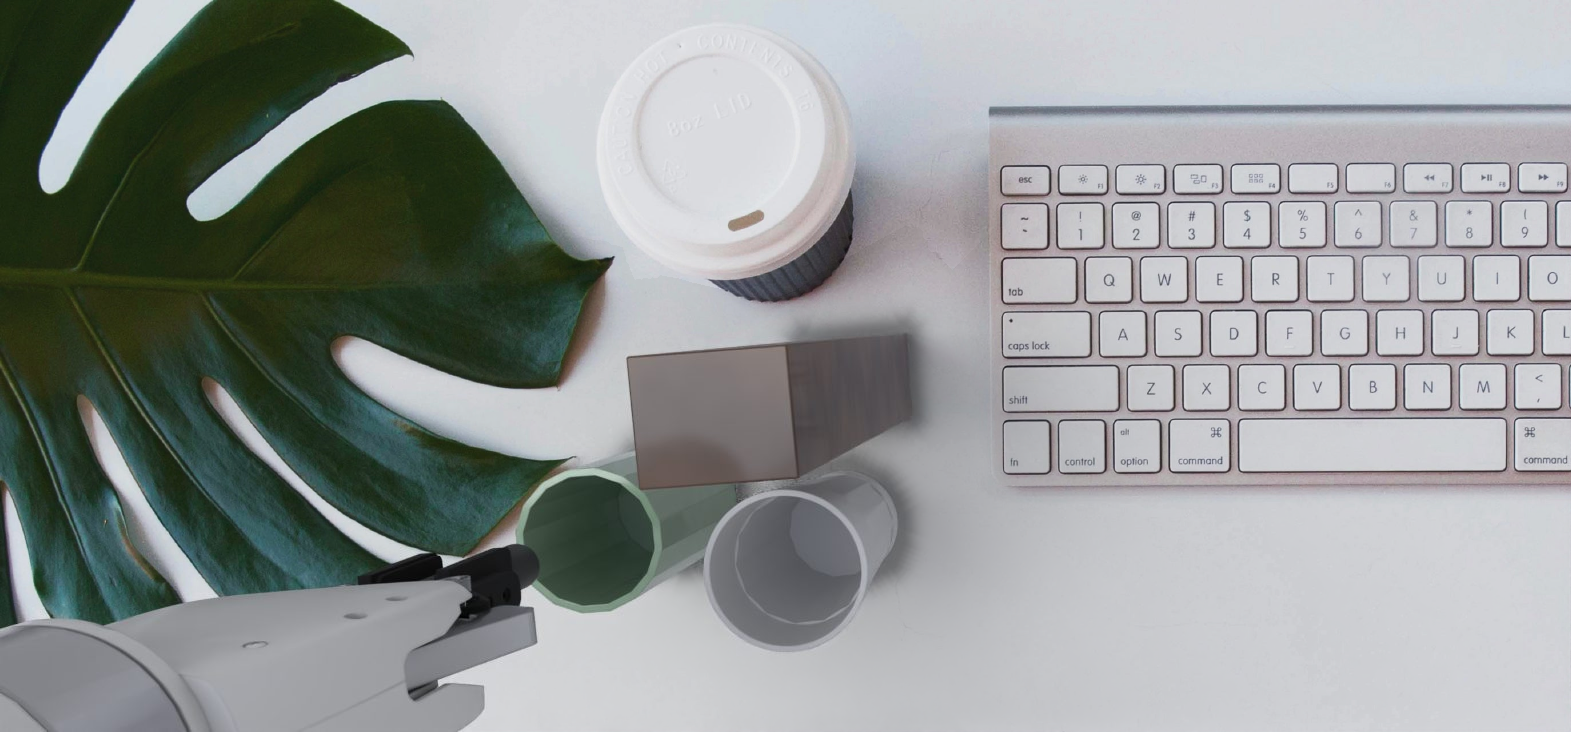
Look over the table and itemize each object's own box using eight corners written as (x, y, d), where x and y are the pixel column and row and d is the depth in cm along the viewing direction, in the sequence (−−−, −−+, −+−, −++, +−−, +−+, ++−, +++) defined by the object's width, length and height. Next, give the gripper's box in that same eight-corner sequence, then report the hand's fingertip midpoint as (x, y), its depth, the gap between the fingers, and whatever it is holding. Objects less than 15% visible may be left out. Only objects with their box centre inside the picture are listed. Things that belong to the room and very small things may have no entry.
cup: (779, 590, 64) (705, 653, 52) (776, 457, 64) (700, 490, 52) (913, 588, 64) (869, 651, 52) (910, 455, 64) (865, 488, 52)
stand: (913, 416, 64) (799, 478, 40) (812, 424, 64) (638, 491, 40) (906, 332, 63) (786, 344, 39) (805, 340, 64) (624, 356, 40)
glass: (742, 557, 64) (668, 607, 53) (622, 565, 64) (523, 618, 53) (731, 437, 64) (654, 463, 53) (610, 446, 64) (508, 474, 53)
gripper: (-309, 975, 25) (287, 693, 44) (367, 927, 25) (678, 664, 43) (-357, 661, 25) (265, 510, 43) (329, 610, 25) (659, 480, 43)
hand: (470, 588), depth 43 cm, fingers closed
